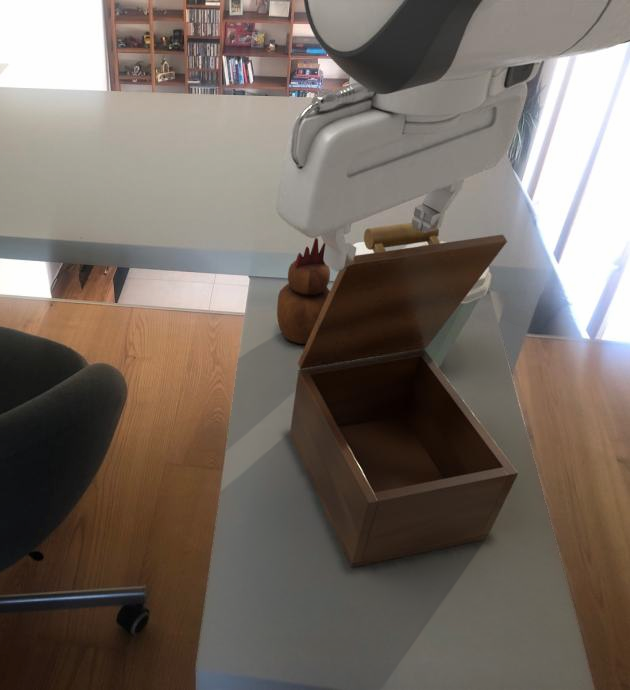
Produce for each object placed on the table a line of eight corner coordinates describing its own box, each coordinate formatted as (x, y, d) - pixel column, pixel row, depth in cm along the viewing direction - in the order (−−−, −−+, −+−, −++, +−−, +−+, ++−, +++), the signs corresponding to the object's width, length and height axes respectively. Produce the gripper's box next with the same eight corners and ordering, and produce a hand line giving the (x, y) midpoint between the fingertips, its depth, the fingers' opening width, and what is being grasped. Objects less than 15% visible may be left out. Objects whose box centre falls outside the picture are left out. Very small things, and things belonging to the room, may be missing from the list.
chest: (486, 539, 66) (518, 473, 60) (351, 568, 64) (368, 503, 57) (405, 414, 78) (424, 348, 72) (289, 435, 76) (298, 369, 70)
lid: (507, 241, 56) (483, 196, 58) (348, 264, 54) (329, 217, 56) (426, 348, 72) (409, 309, 74) (299, 369, 69) (286, 329, 72)
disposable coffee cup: (373, 325, 91) (395, 226, 81) (460, 339, 88) (493, 238, 78) (368, 380, 83) (392, 277, 73) (463, 396, 80) (500, 292, 71)
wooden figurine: (328, 324, 91) (344, 224, 81) (327, 352, 87) (344, 251, 77) (276, 318, 92) (286, 220, 82) (272, 346, 88) (282, 246, 78)
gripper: (334, 118, 39) (307, 312, 48) (560, 48, 47) (501, 225, 56) (264, 84, 43) (251, 269, 52) (483, 25, 51) (440, 194, 60)
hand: (382, 246), depth 54 cm, fingers open, 8 cm apart
